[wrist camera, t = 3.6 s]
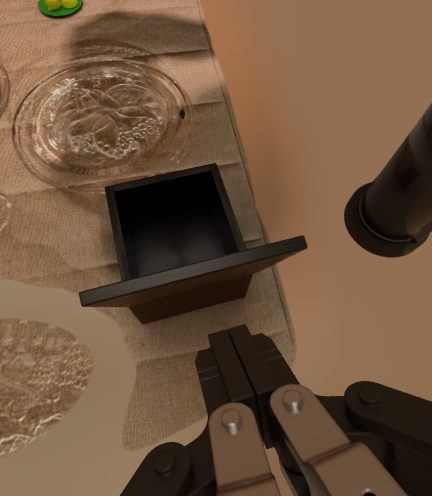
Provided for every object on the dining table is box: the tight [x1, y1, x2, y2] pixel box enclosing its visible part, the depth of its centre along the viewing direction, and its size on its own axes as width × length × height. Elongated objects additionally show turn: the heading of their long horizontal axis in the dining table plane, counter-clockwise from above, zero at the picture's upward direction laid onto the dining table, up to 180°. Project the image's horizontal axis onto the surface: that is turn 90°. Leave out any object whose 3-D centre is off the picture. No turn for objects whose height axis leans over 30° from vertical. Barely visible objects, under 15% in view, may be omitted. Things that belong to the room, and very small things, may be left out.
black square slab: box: [79, 236, 307, 307], centre depth 26 cm, size 15×13×1 cm
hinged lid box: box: [105, 163, 253, 325], centre depth 41 cm, size 14×13×9 cm
